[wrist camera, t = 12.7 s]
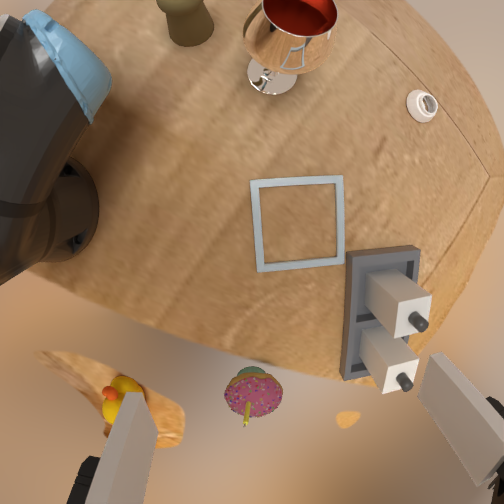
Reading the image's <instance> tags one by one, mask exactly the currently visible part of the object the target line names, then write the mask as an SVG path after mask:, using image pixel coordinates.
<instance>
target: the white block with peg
mask: <svg viewBox="0 0 504 504" xmlns="http://www.w3.org/2000/svg"><path fill="white" fill-rule="evenodd" d="M431 299H432V295H431V294H430V293H428V292H427V291H426V290H424V289H423V288H422V287H420V286H419V285H418V284H416V283H415V282H414V281H412V280H411V279H409V278H408V277H407V276H405V275H404V274H402V273H401V272H400V271H398V270H397V269H390V270H383V271H377V272H370V273H366V287H365V305H366V307H367V308H368V309H369V310H370V311H371V312H372V313H373V315H374V316H375V317H376V318H377V319H378V320H379V322H380V323H381V324H382V325H383V326H384V327H385V329H386V330H387V331H388V332H389V333H390V335H391V336H392V337H393V338H394V339H395V338H399V337H403V336H407V335H411V334H414V333H418V332H424V331H426V329H427V328H428V325H429V323H428V318H429V312H430V306H431Z"/></svg>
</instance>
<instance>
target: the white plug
mask: <svg viewBox="0 0 504 504" xmlns="http://www.w3.org/2000/svg"><path fill="white" fill-rule="evenodd" d="M359 356H360V358H361V360H362V361H363V363H364V365H365V366H366V368H367V370H368V371H369V373H370V374H371V376H372V378H373V380H374V381H375V383H376V385H377V386H378V388H379V390H380V391H381V393H382V394H384V393H388V392H392V391H395V390H399V389H402V390H403V391H404V392H407V391H409V390H410V389H412V387H413V380H414V377H415V373H416V369H417V366H418V362H419V358H418V356H417V355H416V354H415V353H414V352H413V351H412V349H411V348H410V347H409V346H408V345H407V344H406V343H405V341H404V340H403V339H402V338H401V337H399V338H395V339H394V338H393V337H392V336H391V335H390V333H389V332H388V331H387V330H386V329H385V327H384V326H380V327H375V328H369V329H364V330H362V334H361V343H360V351H359Z"/></svg>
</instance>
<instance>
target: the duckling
mask: <svg viewBox="0 0 504 504" xmlns="http://www.w3.org/2000/svg"><path fill="white" fill-rule="evenodd" d="M126 392H142V393H143V396H144V392H143V390H142V388H141V387H140V386H138V384H137V382H136V381H135V380H134V379H132V378H130V377H126V376H118V377H116V378H114V379H113V380H112V382H111V385H110V386H106V387H105V388H104V389H103V390H102V394H103V395H104V396H106V398H105V400H104V402H103V405H102V411H103V415H104V417H105V419H106V420H107V421H108V422H109V423H111V424H114V421H115V419H116V416H117V414H118V411H119V409H120V406H121V404H122V401H123V399H124V396H125V394H126ZM144 399H145V396H144Z"/></svg>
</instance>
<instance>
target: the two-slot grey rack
mask: <svg viewBox="0 0 504 504" xmlns="http://www.w3.org/2000/svg"><path fill="white" fill-rule="evenodd" d="M419 262H420V249H418V248H416V247H414V246H413V245H408V246H399V247H389V248H379V249H369V250H359V251H349V252H346V287H345V309H344V325H343V339H342V351H341V362H340V374H341V376H342V378H343V380H344V381H346V380H351V379H356V378H361V377H365V376H370V375H371V374H370V373H369V371H368V370H367V368H366V366H365V365H364V363H363V361H362V360H361V358H360V356H359V351H360V343H361V334H362V330H364V329H369V328H375V327H380V326H383V325H382V324H381V323H380V322H379V320H378V319H377V318H376V317H375V316H374V315H373V313H372V312H371V311H370V310H369V309H368V308H367V307H366V305H365V287H366V273H370V272H377V271H383V270H390V269H397V270H398V271H400V272H401V273H402V274H404V275H405V276H407V277H408V278H409V279H411V280H412V281H414V282H415V283H416V284H417V281H418V272H419ZM401 338H402V339H403V340H404V341H405V343H406V344H408V339H409V335H407V336H403V337H401Z"/></svg>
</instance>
